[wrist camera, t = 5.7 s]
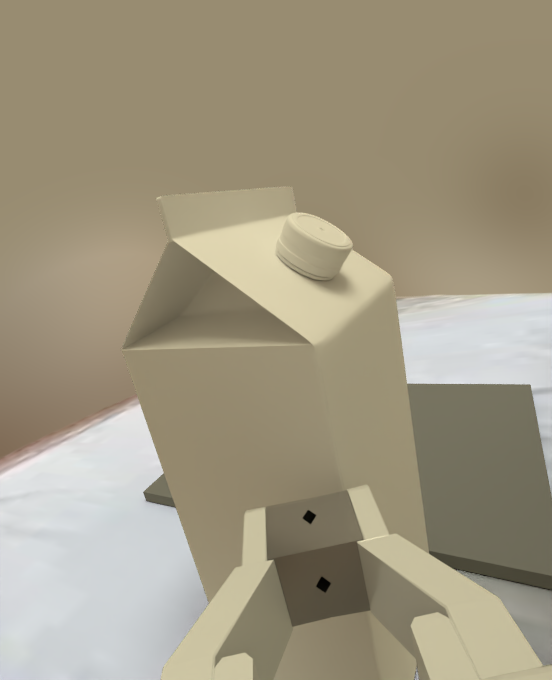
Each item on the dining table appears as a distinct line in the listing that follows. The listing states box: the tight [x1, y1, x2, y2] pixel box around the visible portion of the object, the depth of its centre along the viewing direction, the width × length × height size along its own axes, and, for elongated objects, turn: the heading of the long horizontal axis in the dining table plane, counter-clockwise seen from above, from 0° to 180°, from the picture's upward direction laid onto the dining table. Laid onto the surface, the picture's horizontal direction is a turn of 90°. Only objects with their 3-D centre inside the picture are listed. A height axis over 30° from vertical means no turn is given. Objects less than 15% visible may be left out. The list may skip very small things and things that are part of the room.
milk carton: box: [121, 186, 429, 680], centre depth 15 cm, size 7×7×19 cm
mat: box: [143, 384, 552, 590], centre depth 31 cm, size 19×26×1 cm
